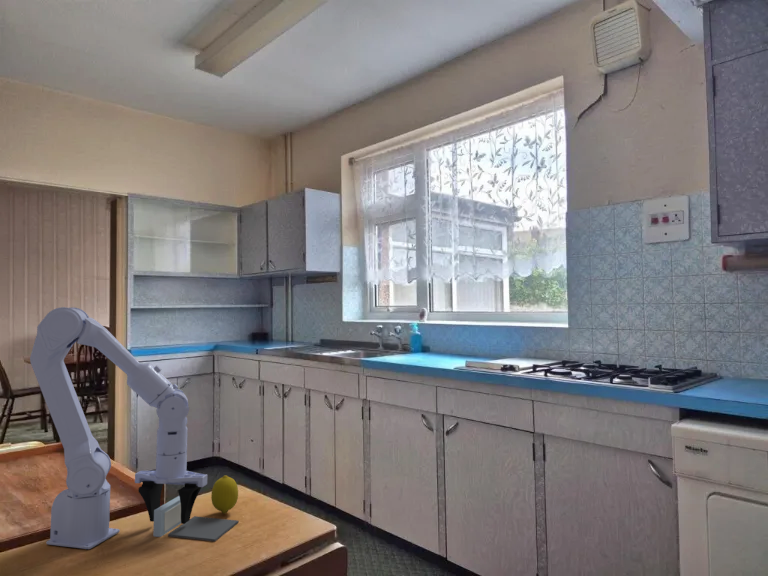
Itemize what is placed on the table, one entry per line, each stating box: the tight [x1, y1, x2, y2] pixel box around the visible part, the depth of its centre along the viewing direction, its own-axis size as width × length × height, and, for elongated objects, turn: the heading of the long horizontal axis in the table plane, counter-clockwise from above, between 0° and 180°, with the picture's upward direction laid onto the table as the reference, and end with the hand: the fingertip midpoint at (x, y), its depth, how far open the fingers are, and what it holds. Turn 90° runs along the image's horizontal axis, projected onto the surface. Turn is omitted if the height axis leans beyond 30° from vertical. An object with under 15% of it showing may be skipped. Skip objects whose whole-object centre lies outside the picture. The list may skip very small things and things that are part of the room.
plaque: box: [152, 495, 182, 538], centre depth 103 cm, size 2×8×5 cm, turn 168°
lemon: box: [210, 475, 239, 514], centre depth 111 cm, size 6×6×8 cm
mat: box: [167, 515, 239, 542], centre depth 103 cm, size 10×9×1 cm
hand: (169, 520), depth 103 cm, fingers open, 6 cm apart
